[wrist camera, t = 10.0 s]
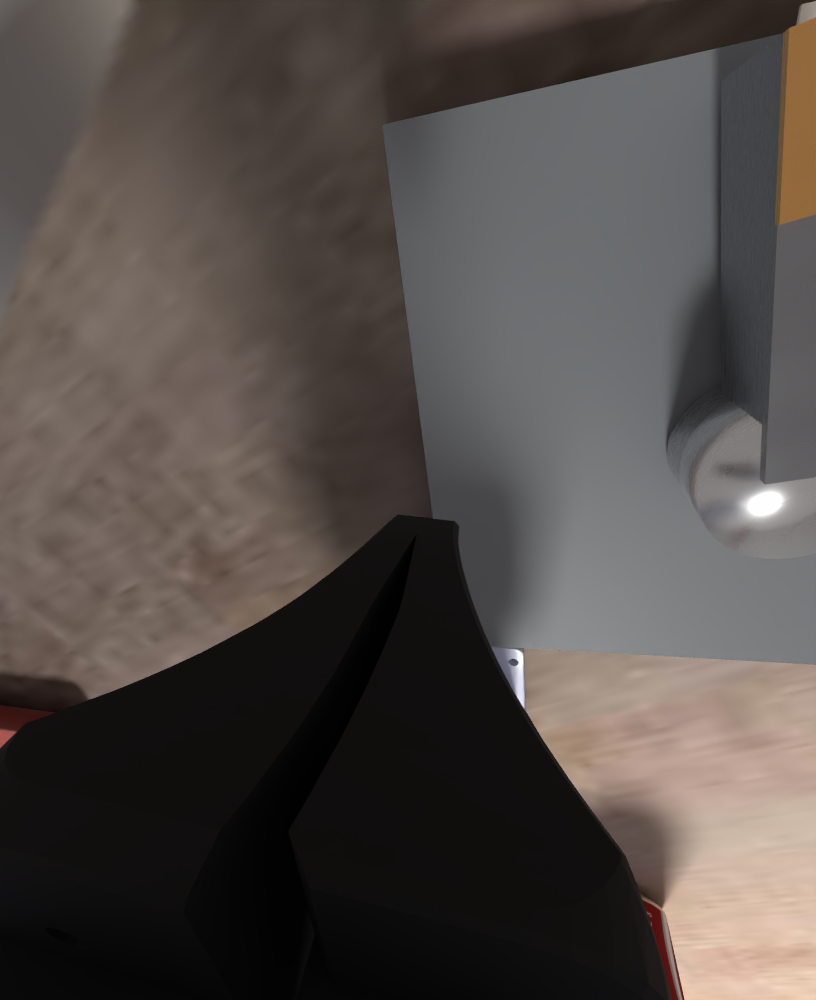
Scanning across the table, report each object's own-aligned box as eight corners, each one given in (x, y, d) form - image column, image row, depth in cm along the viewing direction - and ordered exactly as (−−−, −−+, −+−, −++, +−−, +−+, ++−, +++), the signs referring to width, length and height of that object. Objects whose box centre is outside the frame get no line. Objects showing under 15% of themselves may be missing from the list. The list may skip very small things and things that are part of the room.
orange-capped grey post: (871, 25, 10) (1034, -71, 7) (820, 491, 15) (901, 559, 12) (648, 111, 11) (698, 64, 8) (670, 512, 16) (706, 577, 13)
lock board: (972, 644, 18) (1009, 677, 17) (452, 621, 23) (448, 645, 22) (1445, -125, 9) (1615, -190, 7) (392, 118, 14) (378, 105, 12)
